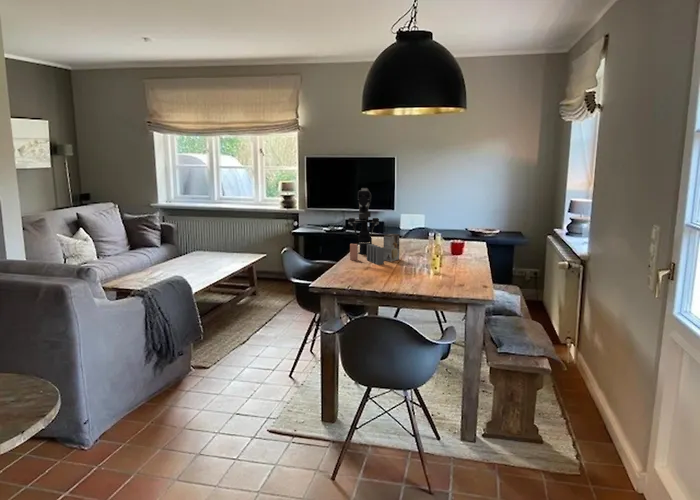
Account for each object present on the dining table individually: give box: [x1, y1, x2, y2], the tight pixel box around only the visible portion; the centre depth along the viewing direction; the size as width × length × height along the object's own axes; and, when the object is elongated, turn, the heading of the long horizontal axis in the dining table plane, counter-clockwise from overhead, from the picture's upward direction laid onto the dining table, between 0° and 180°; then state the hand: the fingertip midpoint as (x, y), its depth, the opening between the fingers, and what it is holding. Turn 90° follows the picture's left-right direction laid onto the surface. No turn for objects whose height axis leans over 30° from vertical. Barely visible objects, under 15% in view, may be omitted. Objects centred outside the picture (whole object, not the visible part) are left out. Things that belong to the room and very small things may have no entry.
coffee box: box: [383, 233, 400, 262], centre depth 337 cm, size 9×6×16 cm
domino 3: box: [372, 245, 381, 264], centre depth 329 cm, size 2×4×10 cm, turn 112°
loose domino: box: [349, 243, 359, 261], centre depth 339 cm, size 2×4×10 cm, turn 72°
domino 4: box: [375, 246, 385, 266], centre depth 325 cm, size 2×4×10 cm, turn 112°
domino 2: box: [369, 244, 378, 263], centre depth 333 cm, size 2×4×10 cm, turn 112°
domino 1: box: [366, 243, 375, 262], centre depth 337 cm, size 2×4×10 cm, turn 112°
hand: (363, 234), depth 330 cm, fingers open, 9 cm apart
